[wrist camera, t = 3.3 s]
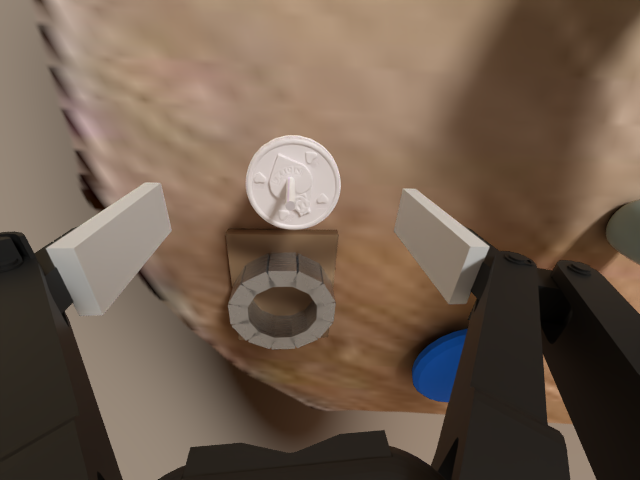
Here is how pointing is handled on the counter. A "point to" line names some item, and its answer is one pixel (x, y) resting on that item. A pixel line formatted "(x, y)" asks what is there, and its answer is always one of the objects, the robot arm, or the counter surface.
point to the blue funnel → (438, 366)
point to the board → (262, 241)
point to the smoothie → (293, 182)
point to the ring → (281, 328)
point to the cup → (626, 231)
